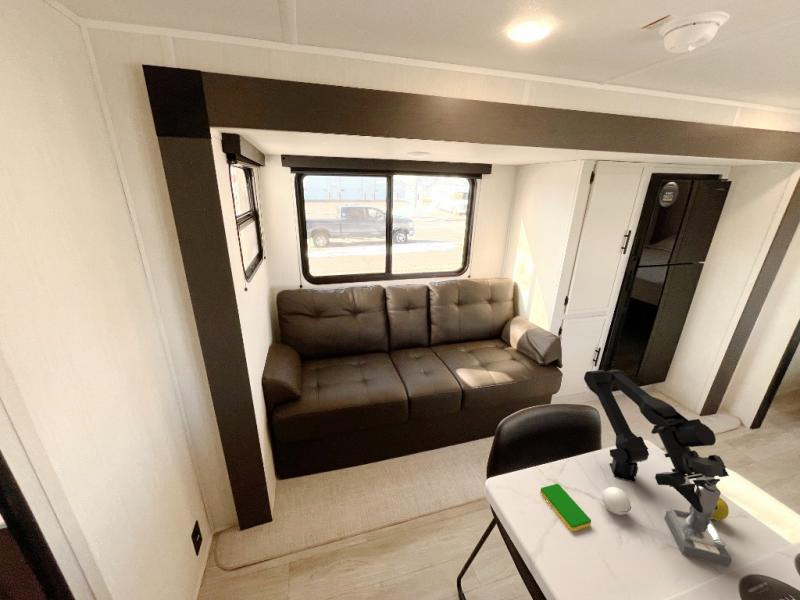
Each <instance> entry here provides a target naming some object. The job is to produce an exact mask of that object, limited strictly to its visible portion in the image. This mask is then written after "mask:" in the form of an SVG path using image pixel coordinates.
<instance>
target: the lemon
mask: <svg viewBox="0 0 800 600" xmlns="http://www.w3.org/2000/svg"><path fill="white" fill-rule="evenodd" d="M729 512H730V511H729V506H728V503H727V502H726V501H725V500H724V498H722V497H719V499H718V502H717V510H714V513H713V515H712V518H711V520H716V521H724V520H726V518H727V517H728V516H729Z"/></svg>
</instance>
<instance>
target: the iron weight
mask: <svg viewBox="0 0 800 600" xmlns="http://www.w3.org/2000/svg"><path fill="white" fill-rule="evenodd" d="M694 491H695V493H696V495H697V498H698V500H699V502H700V504H701V507H702V510H703V513H700V512H698V511H697V510H696V509H695V508H694V507H693V506H692V505H691V504H690V506H689V509H688V511H687V512H688V515H687V518H686V522H687V523H688V524H689V525H690V526H691V527H692V528H693V529H695V530H697V531H700V532H706V531H707V529H708V526H709V523H710V521H711V522H712V515H713V513H714V510H715V507H716V505H717V502H718V499H719V497H720V496H721V490H720V489H719V488H718V487H717V484H716V485H715V484H713V483H712V482H709V481H705V482H703V481H701V482H699V483H698V486H696V488H695V490H694ZM720 498H721V497H720Z"/></svg>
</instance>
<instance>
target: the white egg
mask: <svg viewBox="0 0 800 600" xmlns="http://www.w3.org/2000/svg"><path fill="white" fill-rule="evenodd" d="M601 495H602V497H601V498H602V502H603V504H604V505H603V506H604V507H605V508H606V509H607V510H608V511H609V512H611V513H613V514H615V515H618V516H624V515H625V514H628V513H629V512H630V511H631V510H632V506H631V505H632V504H631V500H630V498H629V495H628V494H626V492H625V491H623V490H622V489H620V487H619V488H618V487H616V486H615V487H613V486H609V487H607V488H605V489H604V490H603V492H602V494H601Z"/></svg>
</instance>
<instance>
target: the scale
mask: <svg viewBox="0 0 800 600" xmlns="http://www.w3.org/2000/svg"><path fill="white" fill-rule="evenodd" d="M688 512H689V511H688V510H682V509H678V508H674V507H671V508H670V511H668V510H666V511H665V514H664V518H663V519H664V521H665V523H666V525H667V527H668V529H669V530H670V531H669V532H670V533H671V535H672V537H673V539H674V542H675V543H676V546H677V547H678V549H679V551H680V553H681V555H684V556H686V557H691V558H694V559H698V560H701V561H705V562H709V563H713V564H716V565H720V566H722V567H723V566H724V567H727V568H728V567H730V564H731V561H732V559H733V558H732V556H731V555H730V554H729V552H728V551H727V549H726V545H727V544H726V542H724V540H723V538H722V537H721V535H720V534H719V532H718V531H717V529H716V528H715V526H714V524H713V522H712V520H711V521H710V523H709V526H708V529H707V531H706V532H700V531H697V530H695V529H693V528H692V527H691V526H690V525H689V524H688V523H687V522H686V518H687V515H688Z"/></svg>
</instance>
